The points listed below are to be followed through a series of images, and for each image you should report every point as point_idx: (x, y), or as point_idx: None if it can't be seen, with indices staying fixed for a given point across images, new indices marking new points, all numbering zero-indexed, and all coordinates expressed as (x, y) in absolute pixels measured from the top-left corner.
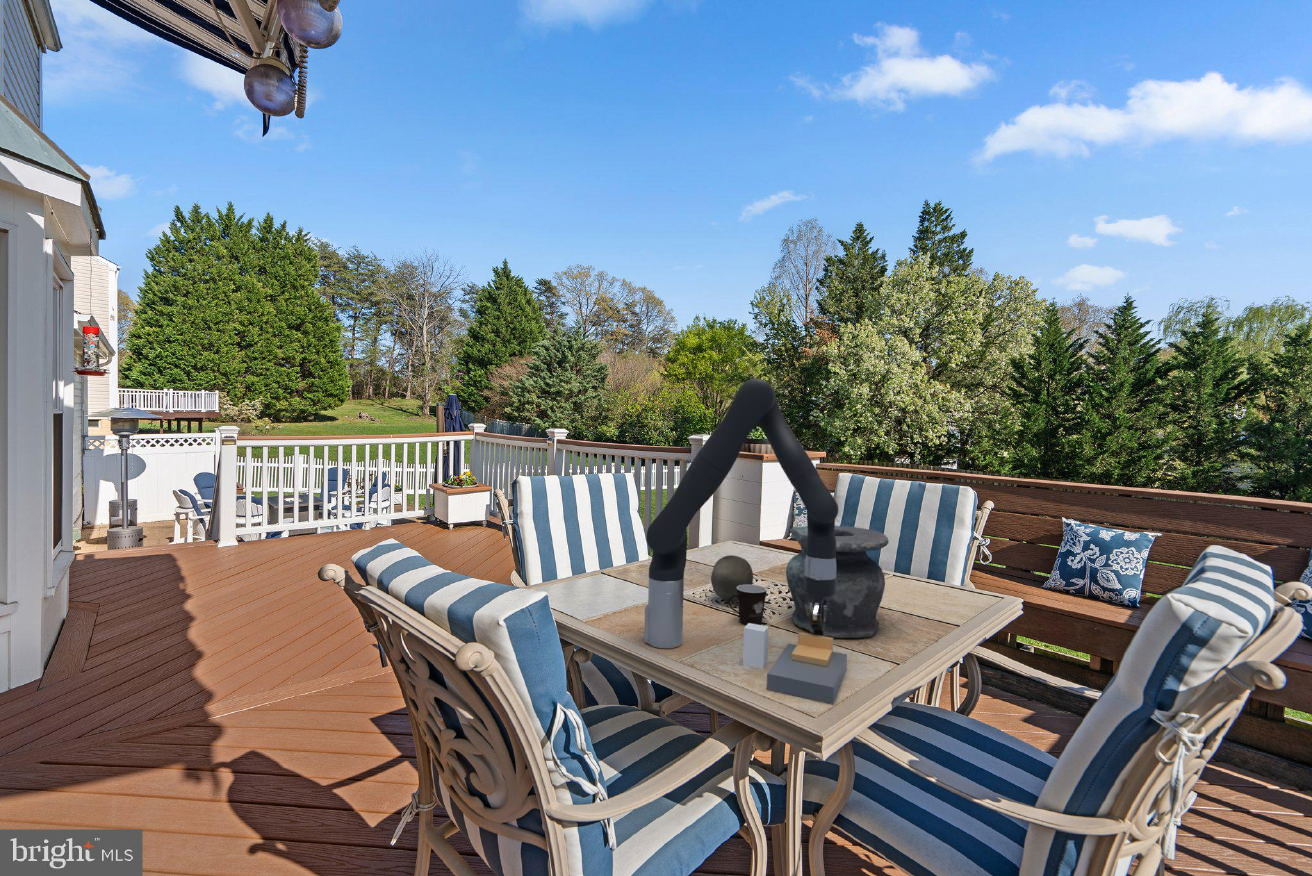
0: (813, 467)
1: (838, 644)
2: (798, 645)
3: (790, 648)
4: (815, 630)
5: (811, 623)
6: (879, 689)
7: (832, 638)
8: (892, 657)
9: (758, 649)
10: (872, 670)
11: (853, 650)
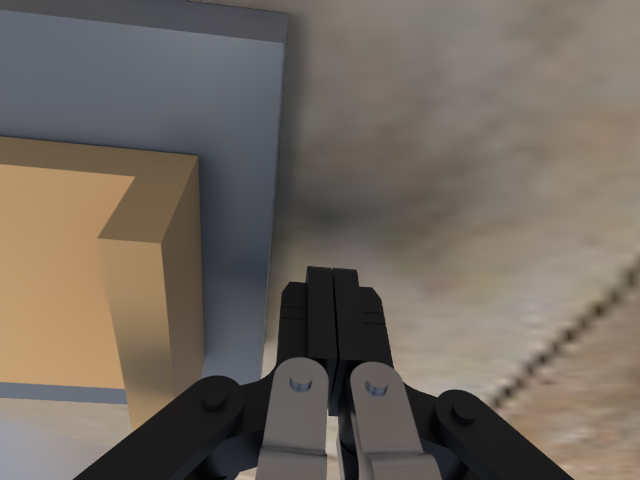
0: None
1: (628, 302)
2: (98, 185)
3: (153, 82)
4: (271, 377)
5: (101, 463)
6: (112, 435)
7: None
8: None
9: None
10: None
11: (539, 361)
